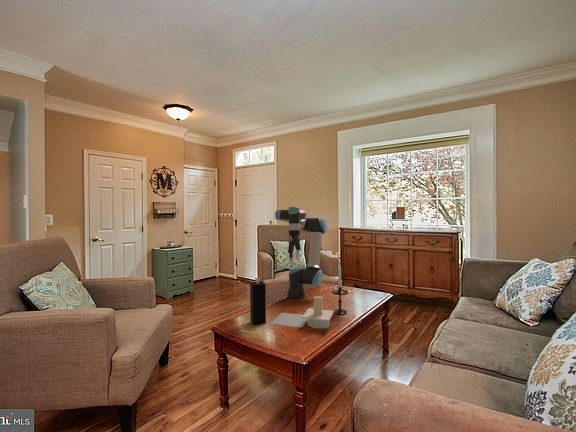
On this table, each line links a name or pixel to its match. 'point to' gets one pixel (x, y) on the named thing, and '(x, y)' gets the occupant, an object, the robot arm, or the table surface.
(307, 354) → the table surface
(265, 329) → the table surface
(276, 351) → the table surface
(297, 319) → the mat
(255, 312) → the black block
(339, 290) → the candlestick
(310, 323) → the bowl
